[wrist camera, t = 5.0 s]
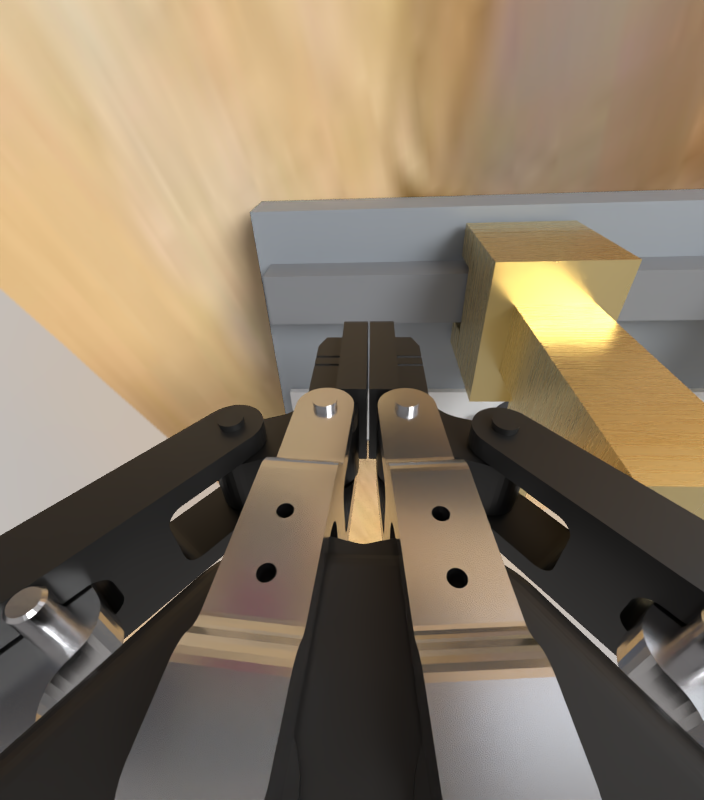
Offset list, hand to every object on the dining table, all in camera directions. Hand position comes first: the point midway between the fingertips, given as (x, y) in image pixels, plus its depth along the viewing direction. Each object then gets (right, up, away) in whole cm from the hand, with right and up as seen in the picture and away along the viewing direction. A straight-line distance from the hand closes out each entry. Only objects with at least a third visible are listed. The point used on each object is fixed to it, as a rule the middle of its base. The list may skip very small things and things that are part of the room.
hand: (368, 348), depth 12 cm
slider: (+6, +1, +5) cm, 8 cm away
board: (+9, +2, +7) cm, 12 cm away
